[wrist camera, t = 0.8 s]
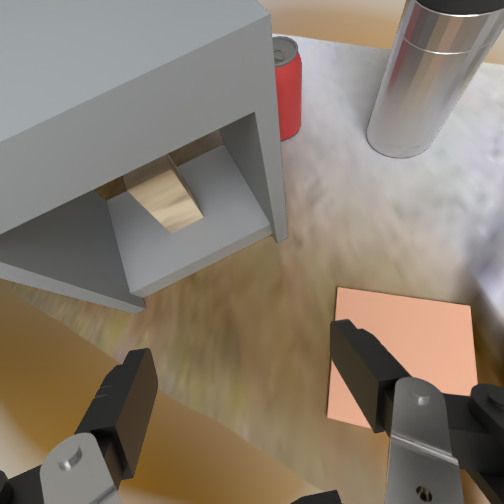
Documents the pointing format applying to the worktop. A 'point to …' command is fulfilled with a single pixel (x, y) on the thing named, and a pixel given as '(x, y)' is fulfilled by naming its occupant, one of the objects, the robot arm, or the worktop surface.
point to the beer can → (288, 85)
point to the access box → (132, 140)
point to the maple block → (164, 193)
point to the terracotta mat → (408, 343)
